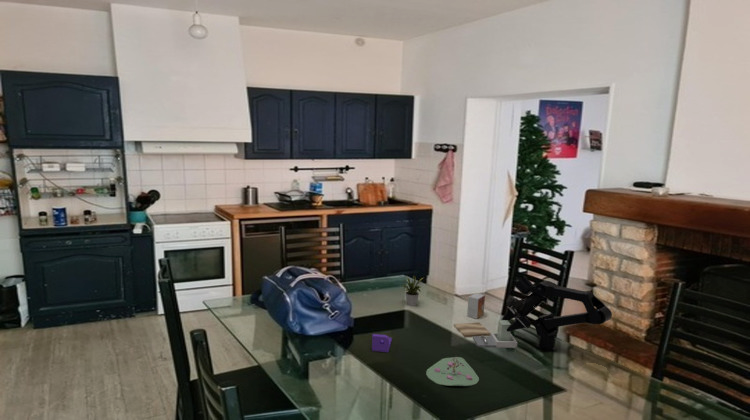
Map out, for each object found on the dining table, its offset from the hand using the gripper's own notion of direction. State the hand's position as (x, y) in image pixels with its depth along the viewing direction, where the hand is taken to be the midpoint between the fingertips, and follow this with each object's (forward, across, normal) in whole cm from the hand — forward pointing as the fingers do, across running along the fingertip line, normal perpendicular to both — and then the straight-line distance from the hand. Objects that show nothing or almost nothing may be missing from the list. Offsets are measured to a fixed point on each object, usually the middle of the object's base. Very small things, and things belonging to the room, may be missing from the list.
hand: (503, 326), depth 218 cm
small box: (+9, -32, +2) cm, 33 cm away
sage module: (+5, 0, +5) cm, 7 cm away
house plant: (+31, -46, -21) cm, 59 cm away
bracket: (+44, +5, -32) cm, 55 cm away
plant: (+25, +27, -14) cm, 39 cm away
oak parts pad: (+13, -12, -3) cm, 18 cm away
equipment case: (+8, 0, +2) cm, 8 cm away
